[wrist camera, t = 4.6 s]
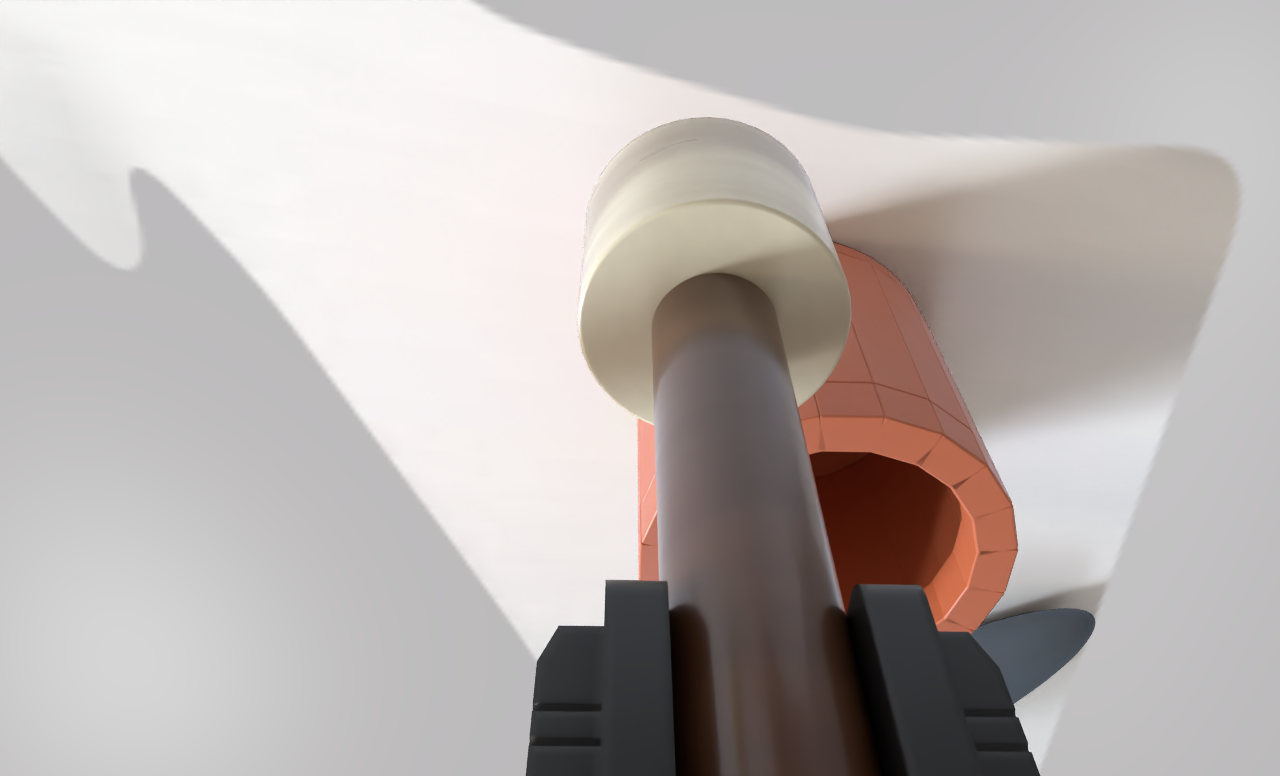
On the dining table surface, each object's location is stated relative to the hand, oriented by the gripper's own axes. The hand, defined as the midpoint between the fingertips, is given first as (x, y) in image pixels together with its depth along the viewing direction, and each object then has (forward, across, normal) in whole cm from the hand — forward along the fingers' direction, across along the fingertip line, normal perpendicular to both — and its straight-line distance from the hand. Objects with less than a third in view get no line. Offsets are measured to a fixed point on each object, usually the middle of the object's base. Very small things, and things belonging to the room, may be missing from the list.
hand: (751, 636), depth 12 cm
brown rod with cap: (+11, 0, 0) cm, 11 cm away
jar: (+22, -4, +10) cm, 24 cm away
